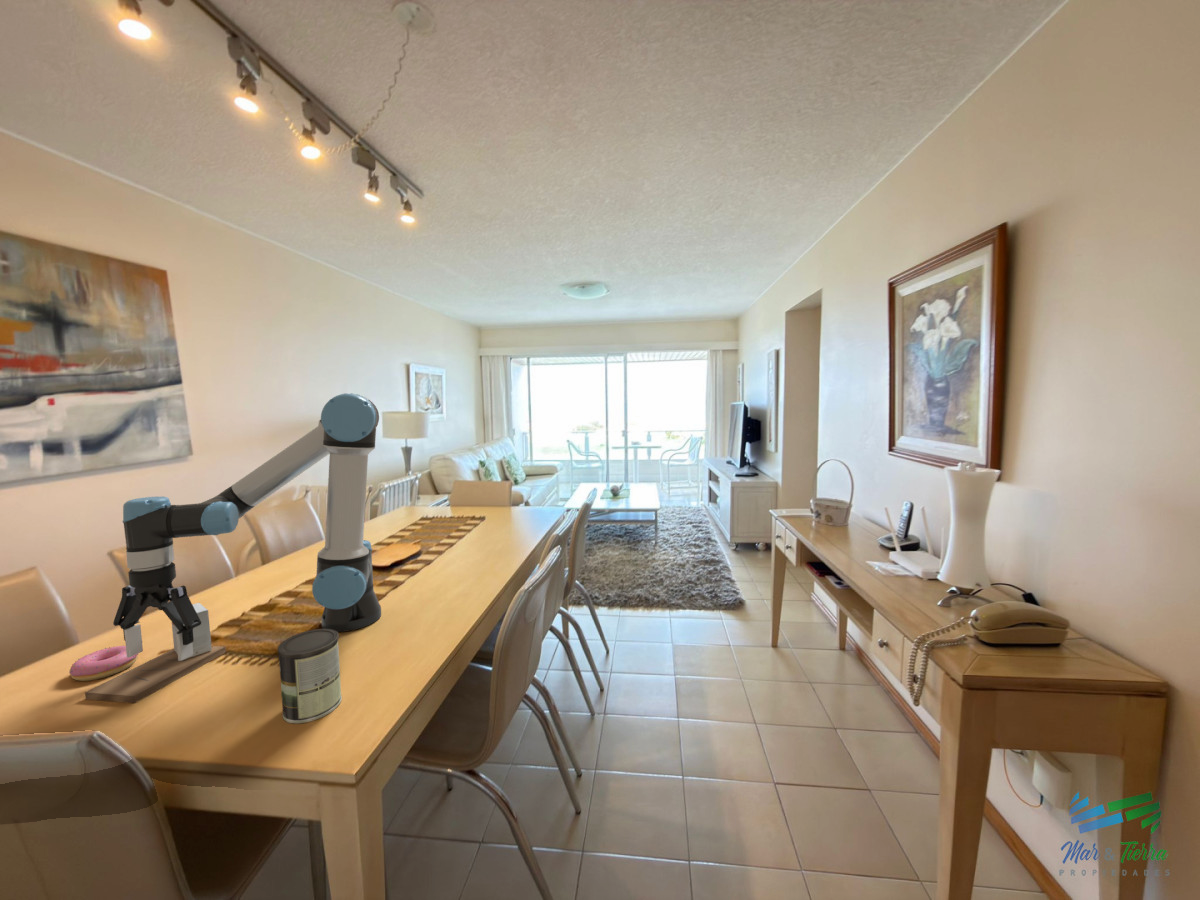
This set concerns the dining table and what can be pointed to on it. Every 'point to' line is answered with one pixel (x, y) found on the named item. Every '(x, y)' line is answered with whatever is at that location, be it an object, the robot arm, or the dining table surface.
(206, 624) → the small box
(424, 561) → the dining table surface
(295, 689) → the coffee can
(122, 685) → the board
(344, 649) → the dining table surface
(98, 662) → the doughnut
